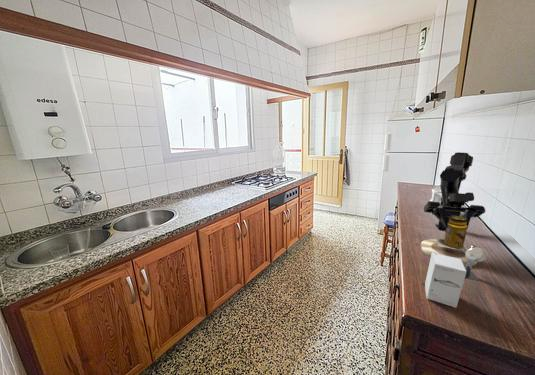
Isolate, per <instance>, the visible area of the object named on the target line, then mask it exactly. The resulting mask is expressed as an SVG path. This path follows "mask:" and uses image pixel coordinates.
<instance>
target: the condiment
mask: <svg viewBox="0 0 535 375" xmlns="http://www.w3.org/2000/svg"><path fill="white" fill-rule="evenodd" d="M461 216H462V215H460V216H456V215H453V216H450V217H449V222H448V223H447V228H446V231H445V235H444V238H439V237H436V238H435V239H436V240H437V243H438V245H439V246H441V247H447V248H452V249H457V250H462V249H463V248H466V247H465V241H466V236H467V235H466V234H467V230H468V229H467V225H466V224H467V219H466V218H464V217H461Z"/></svg>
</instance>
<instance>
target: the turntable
mask: <svg viewBox="0 0 535 375" xmlns="http://www.w3.org/2000/svg"><path fill="white" fill-rule="evenodd" d="M420 249H421V251H422V252H423V253H424V254H425V255H427V256H428V257H429V258H431V254H432V253H436V254H440V255H444V256H449V257H453V258H458V259H461V260H462V262H463V265H464V267H465V266H466V262H467V259H468V258H467V257H466V256H465V252H464V251H463V250H457V249H452V248H447V247H441V246H439V245H438V243H437V239H436V238H435V239H433V238H430V239H424V240H422V241H421V243H420ZM465 249H468V248H467V247H465ZM477 263H478V262H473V265H472V267H473V266H474V267H475V265H477Z"/></svg>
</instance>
